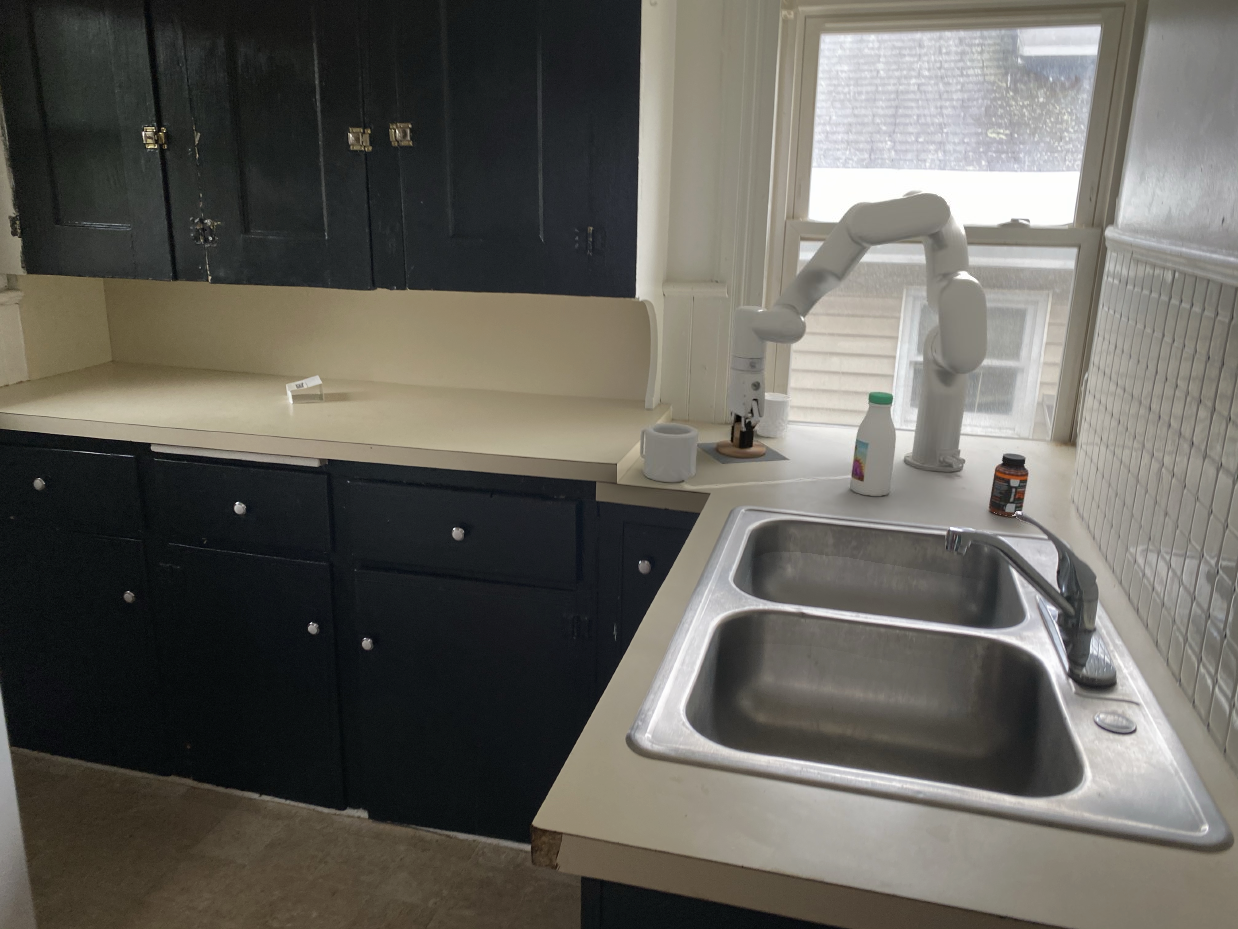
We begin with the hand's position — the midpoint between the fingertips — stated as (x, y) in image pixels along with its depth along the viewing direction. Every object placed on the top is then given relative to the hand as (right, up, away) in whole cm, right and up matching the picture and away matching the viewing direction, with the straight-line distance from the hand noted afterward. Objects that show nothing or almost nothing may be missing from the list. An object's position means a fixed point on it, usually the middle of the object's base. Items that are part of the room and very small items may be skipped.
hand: (741, 444), depth 214 cm
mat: (0, -2, +1) cm, 2 cm away
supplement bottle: (+46, -14, -31) cm, 57 cm away
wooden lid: (0, -2, 0) cm, 2 cm away
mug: (-18, -7, -15) cm, 24 cm away
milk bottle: (+23, -10, -21) cm, 33 cm away
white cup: (+9, +2, +17) cm, 19 cm away
